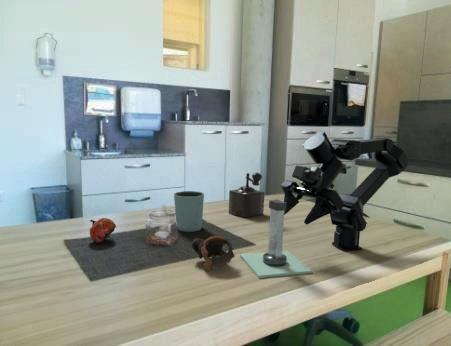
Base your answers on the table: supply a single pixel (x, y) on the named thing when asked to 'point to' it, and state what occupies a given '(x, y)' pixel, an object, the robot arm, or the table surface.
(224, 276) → the table surface
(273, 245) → the square pillar on disc
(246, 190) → the pepper mill
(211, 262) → the pottery mug
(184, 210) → the green cup
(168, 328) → the table surface
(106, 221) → the red ribbed fruit
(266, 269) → the rest mat
